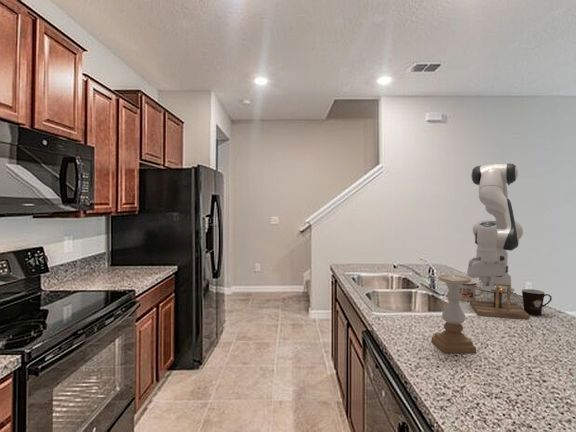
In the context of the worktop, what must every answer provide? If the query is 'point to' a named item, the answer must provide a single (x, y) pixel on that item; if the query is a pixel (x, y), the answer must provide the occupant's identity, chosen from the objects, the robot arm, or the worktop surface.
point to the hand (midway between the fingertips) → (486, 286)
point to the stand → (499, 306)
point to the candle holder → (453, 319)
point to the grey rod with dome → (501, 288)
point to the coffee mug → (533, 301)
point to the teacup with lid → (469, 291)
